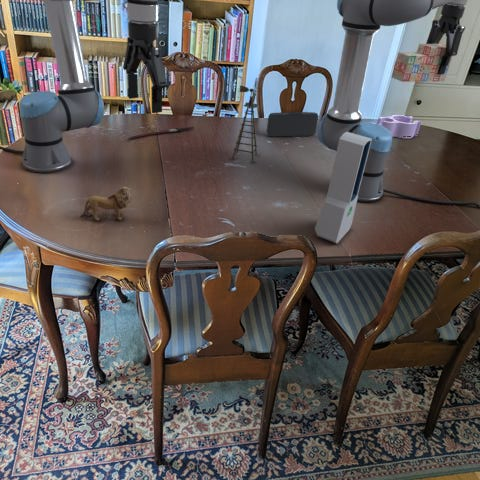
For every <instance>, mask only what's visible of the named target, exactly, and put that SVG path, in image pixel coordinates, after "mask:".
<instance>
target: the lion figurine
mask: <svg viewBox="0 0 480 480" xmlns="http://www.w3.org/2000/svg"><path fill="white" fill-rule="evenodd" d="M132 199H133V194H132V188H129V187H128V186H122V187H119V188H118V191H116V192H114V193H113V194H112V195H110V196H100V195H91V196H89V197H88V198H87V199H86V201H85V204H84V209H83V212H82V214H81V215H80V216H79V218H80V219H81V218H84V217H85V215H86V216H92V217H93V218H94V220H95V221H96V222H99V221H100V217H98V216H97V211H98V208H100V209H102V210H106V211H109V210H113V213H114V216H115V217H116V219H117V220H118V221H121V220H123V218H122V216H120V215H121V210H123V209H126V208H127V207H128V205H129V204H130V203H131V201H132ZM90 210H91V211H92V212H90Z"/></svg>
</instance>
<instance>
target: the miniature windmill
mask: <svg viewBox="0 0 480 480" xmlns="http://www.w3.org/2000/svg"><path fill="white" fill-rule="evenodd" d="M258 81H259V80H258V77H255V80H254V82H253V83H254V84H253V87H254V88H249V87H247V86H244V85H241V84H240V85H239V93H248V92H250V96H249V100H248V102H247V101H246V102H245V104H243V107H244V108H246V110H245V112H244V116H243V118H242V119H243V121H242V123H241V127H240V129H239V134H238V136H237V140H236V142H235V146H234V147H235V148H233V154H232V157H231V159H232V160H234V159H235V156H236V152H237V153H238V152H245V153H249V154H251V163H254V162H255V161H254V160H255V159H254V155H255V156H258V148H257V147H258V145H257V136H256V135H257V133H256V125H255V124H256V121H255V111H254V109H256V108H257V107H259V104H258V103H255V101H256V97H257V88H258V87H257V86H258ZM248 115H250V119H251V120H247V116H248ZM246 123H250V124H246ZM246 126H247V127H251V129H250V131H246V130H244V128H245V127H246ZM243 133H246V134H251V137H249V136H245V135H243ZM242 138H244V139H250V140H251V144H250V143H244V142H242V141H241V140H242ZM240 145H245V146H251V151H250V150H243V149H239V148H240Z"/></svg>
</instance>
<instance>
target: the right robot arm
mask: <svg viewBox="0 0 480 480" xmlns="http://www.w3.org/2000/svg"><path fill="white" fill-rule="evenodd" d="M467 3H468V0H337V1H336V10H337V12H338V14H339V16H341V17H342V20H341V21H342V22H341V27H342V28H343V30H344V32H345V33H344V39H343V45H342V51H341V57H340V62H339V68H338V69H339V70H338V75H337V81H336V87H335V93H334V99H333V104H332V106H331V107H330V108H329V109H328V110H327V113H325V114H324V115H322V117H321V120H320V121H319V122H318V124H317V125H318V126H317V137H318V140H319V142H320V143H321V145H323V146H325V147H326V148H328V149H329V150H331V151H334V152H337V148H338V143H339V139H340V137H341V136H342V135H343V134H344V133H345V132H350V133H353V134H357V135H360V136H364V137H368V138H371V139H372V141H371V145H370V149H369V153H368V157H367V161H366V165H365V169H364V172H363V176H362V180H361V184H360V188H359V192H358V199H357V202H360V203H377V202H378V201H380V200H381V199H382V198H383V195H384V193H385V194H390V195H394V196H398V197H401V198H405V199H410V200H414V201H418V202H424V203H432V204H440V205H441V204H442V205H460V206H468V205H469V206H471V205H472V206H476V207H477V208H478V209H480V204H479V202H475V201H457V200H456V201H455V200H451V201H450V200H436V199H429V198H423V197H418V196H413V195H408V194H404V193H401V192H397V191H393V190H389V189H385V188H384V182H383V180H384V179H383V174H384V171H385V167H386V164H387V160H388V157H389V154H390V151H391V149H392V142H393V137H392V134H391V132H390V131H389V130H388V129H387V128H385V127H383V126H381V125H379V124H377V123H374V122H371V121H363V122H362V117H363V115H362V113H361V112H360V110H359V108H360V104H361V99H362V94H363V89H364V83H365V80H366V73H367V70H368V64H369V59H370V54H371V50H372V44H373V40H374V35H375V34H376V33H377V32H379V31H380V30H381V26H382V27H392V26H393V27H394V26H400V25H404V24H407V23H411V22H414V21H417V20H419V19H423V18H424V17H426V16H427V15H429V14H430V13H431V11H432V10H434V9H437V8H440V7H441V11H440V18H439V19H433V20H432V22H431V28H430V31H429V34H428V37H427V40H426V42H425V44H440V42H441V40H442V38H443V37H444V35H445V37H446V40H445V45H446V52H445V55H444V56H443V57H442V61H441V64H440V67H439V70H438V74H444V73H445V70H446V67H447V66H448V65H449V61H450V58H451V57H452V58H453V57H455V56H457V55H458V52H459V48H460V44H461V40H462V37H463V33H464V32H465V30H466V26H464V25H461V19H462V18H463V16H464V13H465V9H466V5H467ZM449 66H450V65H449Z"/></svg>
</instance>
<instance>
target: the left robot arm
mask: <svg viewBox="0 0 480 480" xmlns="http://www.w3.org/2000/svg"><path fill="white" fill-rule="evenodd" d="M41 1H42V2H43V4H44V9H45V13H46V17H47V18H46V19H47V21H48V22H47V23H48V28H49V32H50V37H51V42H52V46H53V51H54V57H55V60H56V67H57V71H58V75H59V80H60V85H59V86H58V87H57V93H58V94H57V93H56V92H54V91H51V90H45V91H43V90H40V91H39V90H37V91H33V92H30V93H27V94H26V95H24V96H22V97H21V98H20V100H19V103H18V104H19V116H20V119H21V125H22V132H23V137H24V148H23V150H19V149H12V148H8V147H4V146H0V150H2V151H5V152H8V153H14V154H22V158H21V159H22V160H21V161H22V166H23V168H24V169H25V170H27V171H29V172H33V173H39V174H46V173H56V172H61V171H63V170H66V169H67V168H69V167H70V166H71V163H72V159H71V154H70V152H69V150H67V149H68V148H67V147H66V145H65V143H64V140H63V133H65V132H69V131H75V130H79V129H85V128H86V129H89V128H91V127H95V126H98V125H100V123H101V122H102V120H103V119H104V115H105V104H104V103H105V102H104V99H103V97H102V94H101V93H100V92H99V91H98V90H95V87H94V85H93V84H92V83H91V82H90V81H89V80H88V74H87V69H86V63H85V60H84V54H83V49H82V43H81V38H80V31H79V27H78V22H77V16H76V11H75V5H74V0H41ZM126 1H127V2H126V8H127V9H126V10H127V19H128V20H129V21H128V23H127V32H128V36H127V38H126V44H127V45H126V49H125V55H124V60H123V64H122V69H123V70H124V71H125V73H126V74H127V94H128V96H127V97H128V99H129V100H131V99H139V75H138V73H139V71H138V69H139V66H140V64H141V62H142V63H143V64H144V65H145V66H146V67H145V68H146V70H147V73H148V75H149V78H150V82H151V85H152V86H151V87H150V89H151V114H157V113H162V112H163V89H165V88H168V81H167V76H166V71H165V67H164V63H163V58H162V48H161V46H155V44H154V42H155V41H156V40H158V39H159V24H158V23H157V22H158V21H159V0H126Z"/></svg>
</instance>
